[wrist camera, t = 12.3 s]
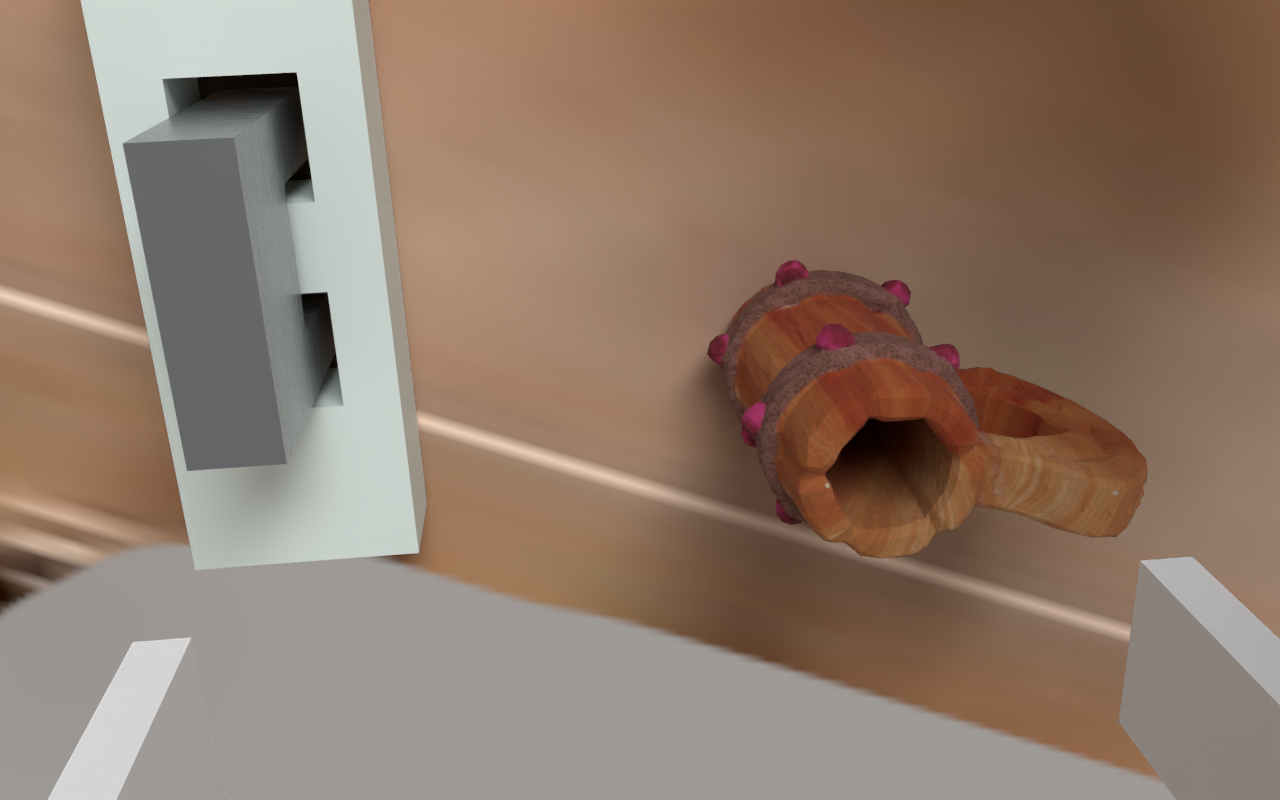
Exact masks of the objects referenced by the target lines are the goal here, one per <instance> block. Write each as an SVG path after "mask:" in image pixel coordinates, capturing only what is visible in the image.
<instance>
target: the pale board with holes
mask: <svg viewBox="0 0 1280 800" xmlns="http://www.w3.org/2000/svg"><path fill="white" fill-rule="evenodd" d="M81 5H82V10H83V15H84V20H85V25H86V30H87V35H88V40H89V45H90V50H91V55H92V60H93V64H94V69H95V74H96V79H97V84H98V89H99V94H100V99H101V104H102V109H103V114H104V119H105V124H106V129H107V134H108V139H109V144H110V149H111V154H112V159H113V164H114V169H115V174H116V179H117V184H118V189H119V194H120V199H121V204H122V209H123V214H124V219H125V224H126V229H127V234H128V238H129V243H130V248H131V253H132V258H133V263H134V268H135V273H136V278H137V283H138V288H139V293H140V298H141V303H142V308H143V313H144V318H145V323H146V328H147V333H148V338H149V343H150V348H151V353H152V358H153V363H154V368H155V373H156V378H157V383H158V388H159V393H160V398H161V403H162V408H163V412H164V417H165V422H166V427H167V432H168V437H169V442H170V447H171V452H172V457H173V462H174V467H175V472H176V477H177V482H178V487H179V492H180V497H181V502H182V507H183V512H184V517H185V522H186V527H187V532H188V537H189V542H190V547H191V552H192V557H193V562H194V567H195V570H205V569H218V568H231V567H243V566H256V565H270V564H281V563H296V562H309V561H321V560H334V559H347V558H360V557H373V556H386V555H399V554H412V553H419V549H420V543H421V537H422V531H423V525H424V519H425V513H426V507H427V500H426V491H425V483H424V474H423V465H422V457H421V448H420V440H419V431H418V422H417V414H416V405H415V397H414V388H413V379H412V371H411V362H410V354H409V345H408V336H407V328H406V319H405V311H404V302H403V293H402V285H401V276H400V268H399V259H398V250H397V242H396V233H395V225H394V216H393V207H392V199H391V190H390V182H389V173H388V164H387V156H386V147H385V139H384V130H383V121H382V113H381V104H380V96H379V87H378V78H377V70H376V61H375V53H374V44H373V35H372V27H371V18H370V10H369V1H368V0H81ZM292 72H297V78H298V85H299V92H300V99H301V107H302V114H303V121H304V128H305V135H306V142H307V149H308V156H309V164H310V171H311V178H312V179H305V180H288V181H287V182H286V183H285V184H284V185H285V192H286V199H287V205H288V212H289V219H290V225H291V232H292V239H293V246H294V252H295V259H296V266H297V272H298V279H299V286H300V292H301V294H304V293H321V292H328V299H329V306H330V313H331V320H332V327H333V334H334V342H335V349H336V356H337V363H338V368H328V371H327V373H326V375H325V378H324V380H323V382H322V385H321V387H320V389H319V391H318V394H317V396H316V398H315V401H314V403H313V405H312V407H311V410H310V412H309V414H308V417H307V419H306V421H305V423H304V426H303V428H302V430H301V433H300V435H299V437H298V440H297V442H296V444H295V446H294V449H293V451H292V453H291V456H290V458H289V460H288V462H287V464H279V465H265V466H251V467H237V468H223V469H209V470H195V471H187V468H186V463H185V458H184V453H183V448H182V443H181V438H180V433H179V428H178V422H177V417H176V412H175V407H174V402H173V397H172V392H171V387H170V382H169V377H168V372H167V367H166V362H165V357H164V351H163V346H162V341H161V336H160V331H159V326H158V321H157V316H156V311H155V306H154V301H153V296H152V291H151V285H150V280H149V275H148V270H147V265H146V260H145V255H144V250H143V245H142V240H141V235H140V230H139V225H138V220H137V214H136V209H135V204H134V199H133V194H132V189H131V184H130V179H129V174H128V169H127V164H126V159H125V154H124V148H123V143H124V142H126V141H128V140H130V139H131V138H133V137H135V136H137V135H139V134H140V133H142V132H144V131H146V130H148V129H149V128H151V127H153V126H155V125H157V124H159V123H160V122H162V121H164V120H166V119H168V118H169V117H171V116H173V115H175V114H177V113H178V112H180V111H182V110H184V109H186V108H187V107H189V106H191V105H193V104H195V103H197V102H198V101H200V100H201V98H200V92H199V86H198V80H197V77H211V76H231V75H252V74H272V73H292Z"/></svg>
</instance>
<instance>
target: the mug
mask: <svg viewBox="0 0 1280 800" xmlns="http://www.w3.org/2000/svg"><path fill="white" fill-rule="evenodd" d="M910 294H911V292H910V290H909V288H908V287H907V285H906V284H905V283H903V282H902V281H899V280H891V281H887V282H884V283H883V284H882V285H878V284H876V283H874V282H872V281H870V280H868V279H866V278H864V277H860V276H856V275H852V274H848V273H844V272H836V271H823V270H819V271H811V272H808V271H807V269H806V267H805V266H804V265H803V264H802V263H800V262H799V261H796V260H792V261H788V262H786V263H784V264H782V265H781V266H780V268H779V269H778V271H777V273H776V279H775V283H773V284H772V285H769V286H765V287H764V288H762V289H761V290H760V291H759V292H758V293H757V294H755V295H754V296H753V297H752V298H750V299H749V300H747V301H746V302H745V303H744V304H743V305H742V307H741V308H740V309H739V310H738V311H737V313H736V314H735V316H734V317H733V320H732V322H731V324H730V327H729V330H728V332H727V333H726V334H722V335H719V336H716V337H715V338H714V339H713V340H712V341H711V342H710V344H709V349H708V353H707V354H708V356H709V357H710V358H711V359H712V360H713V361H715V362H716V363H717V364H718V365H720V366H721V367H722V369H723V376H724V381H725V386H726V390H727V393H728V397H729V400H730V402H731V404H732V406H733V408H734V410H735V412H736V415H737V417H738V419H739V420H740V422H741V424H742V425H743V427H742V432H741V433H742V437H743V439H744V441H745V443H746V444H747V445H749V446H751V447H757V452H758V457H759V461H760V463H761V466H762V468H763V471H764V474H765V477H766V479H767V481H768V483H769V485H770V487H771V489H772V491H773V493H774V494H775V495H776V496H777V500H776V512H777V515H778V517H779V518H780V519H781V520H782V522H785V523H788V524H791V525H792V524H797V523H801V522H802V521H804V522H806V523H808V524H809V526H810V527H811V528H812V529H813V530H814V531H815V532H816V533H817V534H818V535H819V536H820V537H821V538H822V539H823V540H826V541H830V542H844V543H846V544H848V545H849V546H850V547H851V548H852V549H853V550H855V551H856V552H857V553H858V554H859V555H861V556H868V557H875V558H892V557H902V556H906V555H910V554H914V553H917V552H919V551H920V550H922V549H924V548H926V547H927V546H928V545H929V543H930V541H931V539H932V537H933V535H934V534H935V533H936V532H937V531H948V530H955V529H956V528H958V527H959V526H960V525H961V524H962V523H963V522H964V521H965V519H966V518H967V517H968V516H969V514H970V513H971V512H972V510H973V507H974V506H976V507H984V508H992V509H998V510H1003V511H1007V512H1012V513H1016V514H1019V515H1021V516H1024V517H1027V518H1029V519H1032V520H1035V521H1037V522H1040V523H1043V524H1045V525H1048V526H1051V527H1053V528H1056V529H1059V530H1063V531H1067V532H1071V533H1075V534H1079V535H1083V536H1088V537H1108V536H1111V537H1116V536H1117V535H1119V534H1120V533H1121V532H1122V531H1123V530H1124V529H1125V528H1126V527H1127V526H1128V524H1129V522H1130V521H1131V519H1132V517H1133V515H1134V512H1135V510H1136V509H1137V507H1138V506H1139V505H1140V498H1141V497H1142V496H1143V495H1144V492H1143V486H1144V484H1145V482H1146V479H1147V463H1146V459H1145V458H1144V457H1143V455H1142V454H1141V453H1140V452H1139V451H1138V449H1137V448H1136V446H1135V445H1134V443H1133V442H1132V441H1131V440H1130V439H1129V438H1128V437H1127V436H1126V435H1125V434H1123V433H1122V432H1121V431H1119V430H1118V429H1117V428H1115V427H1114V426H1113V425H1111V424H1110V423H1109V422H1107V421H1106V420H1104V419H1103V418H1101V417H1099V416H1097V415H1096V414H1094V413H1092V412H1091V411H1089V410H1087V409H1085V408H1084V407H1082V406H1080V405H1079V404H1077V403H1075V402H1073V401H1071V400H1069V399H1066V398H1064V397H1062V396H1060V395H1057V394H1055V393H1053V392H1051V391H1048V390H1046V389H1044V388H1042V387H1039V386H1037V385H1034V384H1032V383H1029V382H1027V381H1024V380H1021V379H1019V378H1016V377H1013V376H1011V375H1008V374H1003V373H999V372H997V371H995V370H993V369H992V368H979V367H976V368H970V369H958V368H959V352H958V351H957V350H956V348H955V347H954V346H952V345H950V344H941V345H937V346H933V347H929V348H928V347H926V346H924V345H923V342H922V338H921V336H920V334H919V331H918V329H917V327H916V325H915V323H914V322H913V320H912V319H911V317H910V315H909V314H908V312H907V311H906V309H905V307H906V306H907V305H908V304H909V300H910Z"/></svg>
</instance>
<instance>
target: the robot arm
mask: <svg viewBox="0 0 1280 800" xmlns="http://www.w3.org/2000/svg"><path fill="white" fill-rule="evenodd" d="M1119 723H1120V725H1121V726H1122V727H1123V729H1124V730H1125V731H1126V733H1127V734H1128V735H1129V737H1130V738H1131V739H1132V741H1133V742H1134V743H1135V745H1136V746H1137V747H1138V749H1139V750H1140V752H1141V753H1142V754H1143V756H1144V757H1145V758H1146V760H1147V761H1148V762H1149V764H1150V765H1151V766H1152V768H1153V769H1154V770H1155V772H1156V773H1157V774H1158V776H1159V777H1160V778H1161V780H1162V781H1163V782H1164V784H1165V785H1166V786H1167V788H1168V789H1169V790H1170V792H1171V793H1172V794H1173V796H1174V797H1175V799H1176V800H1280V639H1279V638H1278V637H1277V636H1276V635H1275V634H1274V633H1273V632H1272V631H1270V630H1269V629H1268V628H1267V627H1266V626H1265V625H1264V624H1263V623H1262V622H1261V621H1260V620H1259V619H1258V618H1257V617H1256V616H1255V615H1254V614H1253V613H1251V612H1250V611H1249V610H1248V609H1247V608H1246V607H1245V606H1244V605H1243V604H1242V603H1241V602H1240V601H1239V600H1238V599H1237V598H1236V597H1235V596H1234V595H1232V594H1231V593H1230V592H1229V591H1228V590H1227V589H1226V588H1225V587H1224V586H1223V585H1222V584H1221V583H1220V582H1219V581H1218V580H1217V579H1216V578H1215V577H1213V576H1212V575H1211V574H1210V573H1209V572H1208V571H1207V570H1206V569H1205V568H1204V567H1203V566H1202V565H1201V564H1200V563H1199V562H1198V561H1197V560H1196V559H1194V558H1193V557H1181V558H1168V559H1156V560H1143V561H1140V566H1139V574H1138V581H1137V589H1136V596H1135V604H1134V611H1133V619H1132V626H1131V634H1130V641H1129V649H1128V656H1127V664H1126V671H1125V679H1124V686H1123V693H1122V701H1121V708H1120V716H1119ZM48 800H225V796H224V792H223V787H222V782H221V777H220V772H219V768H218V763H217V758H216V753H215V749H214V743H213V738H212V734H211V729H210V724H209V719H208V714H207V709H206V705H205V700H204V695H203V691H202V685H201V680H200V676H199V671H198V666H197V661H196V656H195V651H194V647H193V642H192V638H191V637H190V638H178V639H166V640H154V641H141V642H133V643H132V645H131V647H130V649H129V650H128V652H127V654H126V656H125V658H124V660H123V661H122V663H121V665H120V667H119V669H118V671H117V672H116V674H115V676H114V678H113V680H112V682H111V684H110V686H109V687H108V689H107V691H106V693H105V695H104V696H103V698H102V700H101V702H100V704H99V706H98V708H97V709H96V711H95V713H94V715H93V717H92V719H91V720H90V723H89V724H88V726H87V728H86V730H85V732H84V733H83V735H82V737H81V739H80V741H79V743H78V745H77V746H76V748H75V750H74V752H73V754H72V756H71V758H70V759H69V761H68V763H67V765H66V767H65V769H64V770H63V772H62V774H61V776H60V778H59V780H58V781H57V784H56V785H55V787H54V789H53V791H52V793H51V795H50V796H49V798H48Z"/></svg>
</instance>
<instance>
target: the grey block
mask: <svg viewBox="0 0 1280 800" xmlns="http://www.w3.org/2000/svg"><path fill="white" fill-rule="evenodd" d="M123 148H124V154H125V159H126V164H127V169H128V174H129V179H130V184H131V189H132V194H133V199H134V204H135V209H136V214H137V220H138V225H139V230H140V235H141V240H142V245H143V250H144V255H145V260H146V265H147V270H148V275H149V280H150V285H151V291H152V296H153V301H154V306H155V311H156V316H157V321H158V326H159V331H160V336H161V341H162V346H163V351H164V357H165V362H166V367H167V372H168V377H169V382H170V387H171V392H172V397H173V402H174V407H175V412H176V417H177V422H178V428H179V433H180V438H181V443H182V448H183V453H184V458H185V463H186V468H187V471H195V470H209V469H223V468H237V467H251V466H265V465H279V464H287V462H288V460H289V458H290V456H291V453H292V451H293V449H294V446H295V444H296V442H297V440H298V437H299V435H300V433H301V430H302V428H303V426H304V423H305V421H306V419H307V417H308V414H309V412H310V410H311V407H312V405H313V403H314V401H315V398H316V396H317V394H318V391H319V389H320V387H321V385H322V382H323V380H324V378H325V375H326V373H327V371H328V368H329V366H330V364H331V362H332V359H333V357H334V355H335V352H336V349H335V342H334V334H333V327H332V320H331V313H330V306H329V299H328V292H321V293H304V294H301V292H300V286H299V279H298V272H297V266H296V259H295V252H294V246H293V239H292V232H291V225H290V219H289V212H288V205H287V199H286V192H285V185H284V184H285V183H286V182H287V181H288V180H289V178H290V177H291V176H292V175H293V174H294V173H295V172H296V171H297V170H298V169H299V168H300V166H301V165H302V164H303V163H304V162H305V161H306V160H307V159H308V158H309V156H308V149H307V142H306V135H305V128H304V121H303V114H302V107H301V99H300V92H299V86H295V87H275V88H255V89H234V90H218V91H216V92H215V93H213V94H211V95H209V96H207V97H206V98H204V99H202V100H200V101H198V102H197V103H195V104H193V105H191V106H189V107H187V108H186V109H184V110H182V111H180V112H178V113H177V114H175V115H173V116H171V117H169V118H168V119H166V120H164V121H162V122H160V123H159V124H157V125H155V126H153V127H151V128H149V129H148V130H146V131H144V132H142V133H140V134H139V135H137V136H135V137H133V138H131V139H130V140H128V141H126V142H124V143H123Z"/></svg>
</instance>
